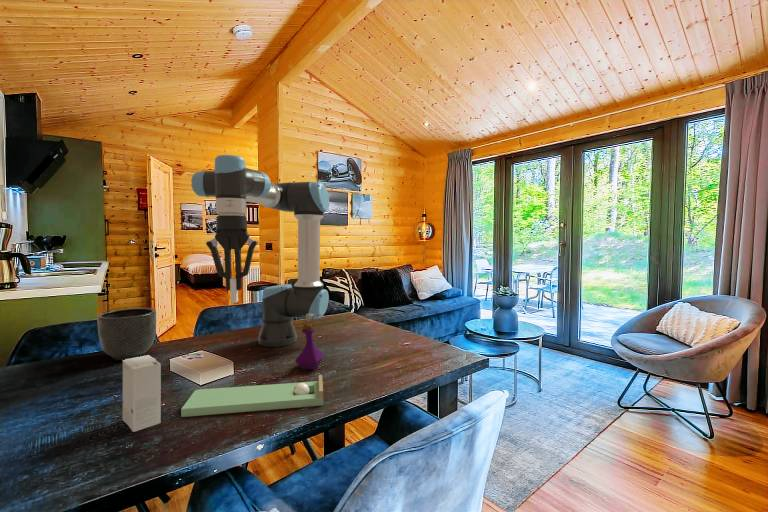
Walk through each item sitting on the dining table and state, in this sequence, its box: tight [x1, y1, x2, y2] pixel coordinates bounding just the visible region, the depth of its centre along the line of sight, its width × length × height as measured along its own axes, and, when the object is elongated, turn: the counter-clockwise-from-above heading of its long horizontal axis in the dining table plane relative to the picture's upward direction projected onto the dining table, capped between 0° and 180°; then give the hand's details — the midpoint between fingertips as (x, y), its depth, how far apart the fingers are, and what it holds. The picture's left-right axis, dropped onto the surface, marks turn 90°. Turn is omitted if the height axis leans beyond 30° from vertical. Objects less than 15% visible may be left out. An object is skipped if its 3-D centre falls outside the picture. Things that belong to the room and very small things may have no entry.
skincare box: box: [121, 354, 162, 433], centre depth 86 cm, size 8×6×15 cm
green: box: [180, 374, 324, 418], centre depth 97 cm, size 11×34×4 cm, turn 101°
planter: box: [96, 307, 158, 361], centre depth 131 cm, size 17×17×16 cm
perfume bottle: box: [295, 314, 325, 371], centre depth 121 cm, size 8×8×18 cm
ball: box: [294, 382, 310, 395], centre depth 99 cm, size 4×4×4 cm
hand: (234, 301), depth 100 cm, fingers closed
